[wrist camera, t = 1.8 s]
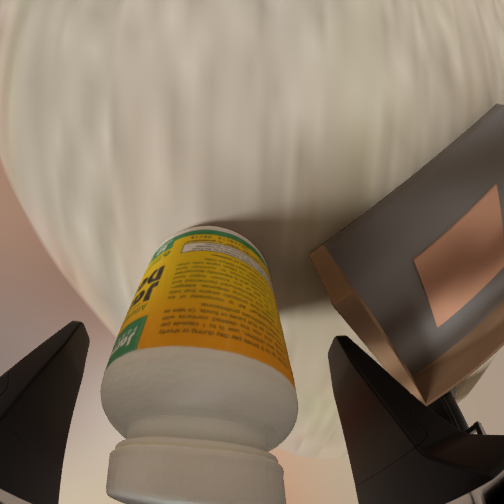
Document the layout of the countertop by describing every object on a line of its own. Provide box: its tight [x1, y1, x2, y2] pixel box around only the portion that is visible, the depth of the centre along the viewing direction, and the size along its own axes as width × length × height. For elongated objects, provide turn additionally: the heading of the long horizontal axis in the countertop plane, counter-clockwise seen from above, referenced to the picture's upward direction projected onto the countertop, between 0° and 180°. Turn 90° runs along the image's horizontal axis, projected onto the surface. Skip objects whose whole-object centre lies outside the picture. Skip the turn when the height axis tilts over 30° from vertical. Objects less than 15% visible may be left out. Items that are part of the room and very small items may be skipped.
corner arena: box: [309, 104, 504, 406], centre depth 12 cm, size 16×14×4 cm
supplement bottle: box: [101, 226, 298, 504], centre depth 8 cm, size 5×5×10 cm
